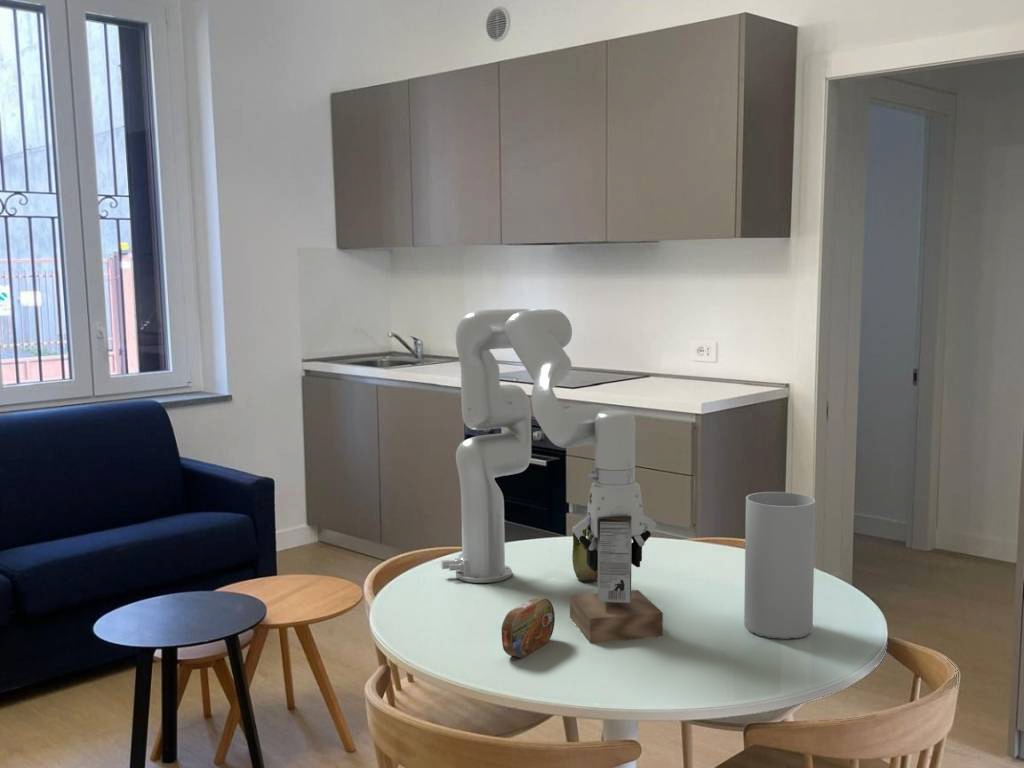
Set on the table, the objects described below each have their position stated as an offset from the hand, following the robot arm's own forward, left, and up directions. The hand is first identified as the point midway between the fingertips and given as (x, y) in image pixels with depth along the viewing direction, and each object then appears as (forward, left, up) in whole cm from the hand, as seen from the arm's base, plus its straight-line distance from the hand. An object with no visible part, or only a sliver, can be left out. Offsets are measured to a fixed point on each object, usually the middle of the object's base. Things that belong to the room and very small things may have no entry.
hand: (614, 566), depth 193 cm
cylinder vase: (+29, -10, -12) cm, 33 cm away
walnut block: (0, 0, -12) cm, 12 cm away
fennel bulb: (+5, +30, -12) cm, 33 cm away
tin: (-19, -6, -12) cm, 23 cm away
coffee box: (0, 0, -6) cm, 6 cm away
